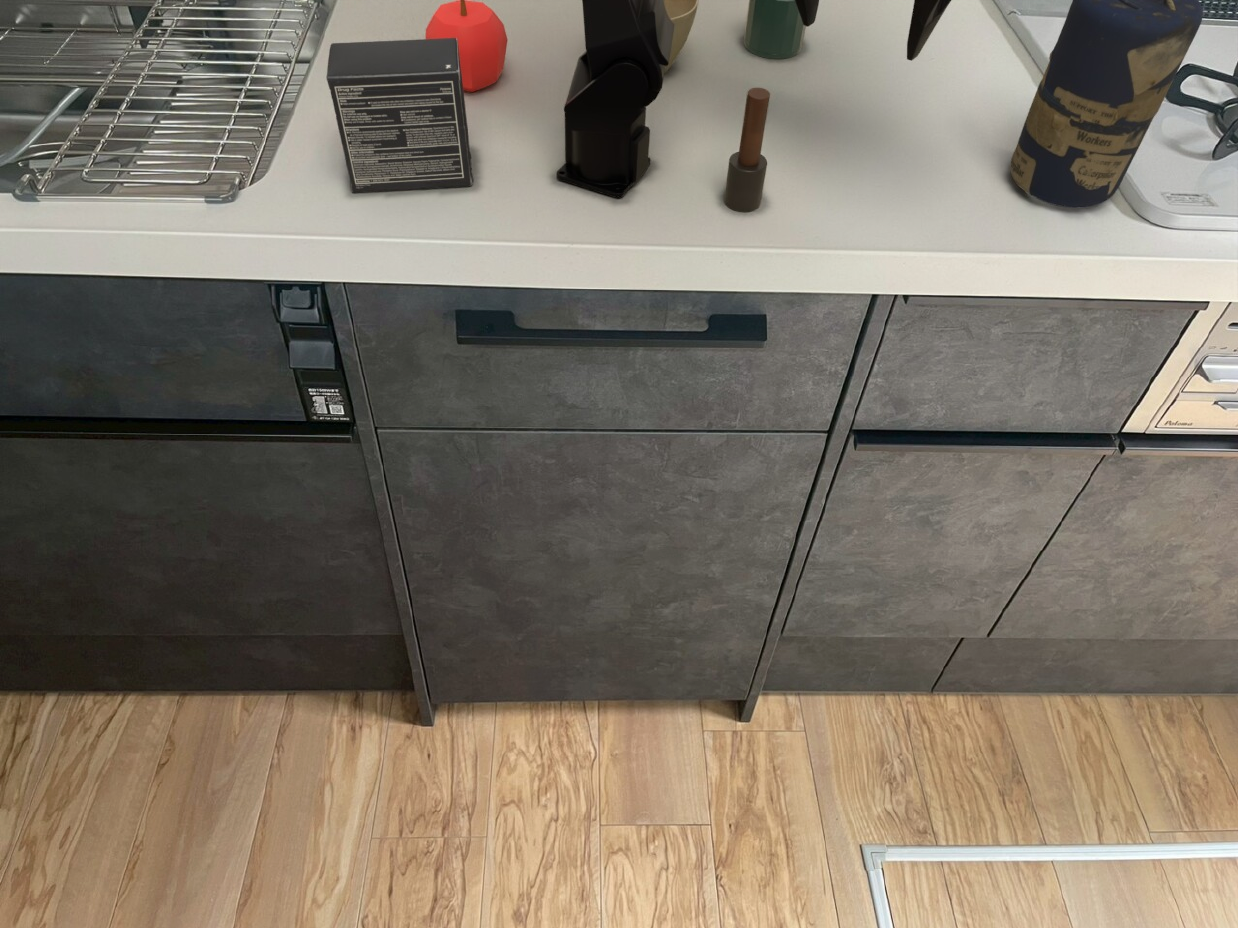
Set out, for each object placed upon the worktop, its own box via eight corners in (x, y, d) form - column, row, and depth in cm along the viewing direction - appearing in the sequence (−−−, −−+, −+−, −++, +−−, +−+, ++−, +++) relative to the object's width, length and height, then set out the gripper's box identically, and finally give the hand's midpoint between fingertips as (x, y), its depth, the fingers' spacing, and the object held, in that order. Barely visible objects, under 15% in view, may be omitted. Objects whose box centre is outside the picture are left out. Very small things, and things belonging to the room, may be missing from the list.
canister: (1034, 221, 81) (1127, 11, 68) (986, 161, 87) (1062, -44, 73) (1133, 211, 83) (1244, 4, 69) (1079, 152, 89) (1171, -50, 75)
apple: (475, 109, 90) (468, 26, 84) (412, 84, 93) (401, 1, 87) (526, 76, 95) (522, -5, 88) (464, 53, 97) (457, -28, 91)
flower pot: (575, 60, 97) (575, -11, 92) (651, 35, 101) (655, -34, 96) (634, 102, 92) (637, 29, 87) (711, 74, 96) (719, 3, 91)
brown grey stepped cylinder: (718, 205, 81) (732, 97, 74) (731, 187, 83) (747, 79, 76) (752, 216, 80) (770, 107, 73) (765, 197, 82) (784, 89, 75)
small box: (471, 147, 86) (459, 33, 78) (474, 188, 82) (462, 72, 74) (352, 153, 85) (329, 38, 77) (350, 195, 81) (324, 77, 73)
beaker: (735, 50, 100) (742, -8, 95) (755, 26, 103) (763, -31, 99) (790, 64, 98) (800, 6, 93) (809, 40, 102) (820, -18, 97)
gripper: (1091, -204, 61) (1019, 36, 72) (842, -247, 69) (815, -25, 81) (1012, -157, 55) (949, 94, 67) (753, -210, 64) (738, 22, 75)
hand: (859, 41), depth 73 cm, fingers open, 9 cm apart
